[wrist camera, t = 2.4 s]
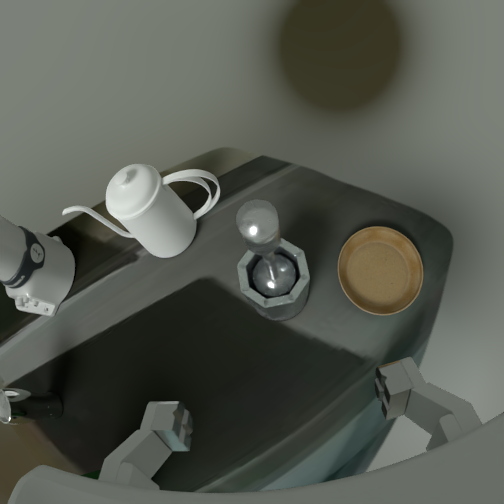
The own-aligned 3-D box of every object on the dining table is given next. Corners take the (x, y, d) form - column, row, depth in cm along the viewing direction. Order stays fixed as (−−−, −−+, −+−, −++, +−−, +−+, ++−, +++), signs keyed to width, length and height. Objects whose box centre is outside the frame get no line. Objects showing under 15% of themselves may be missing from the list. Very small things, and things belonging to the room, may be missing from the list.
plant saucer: (345, 223, 50) (347, 216, 47) (422, 243, 46) (427, 238, 44) (326, 305, 46) (327, 302, 43) (410, 325, 42) (415, 323, 40)
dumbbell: (257, 301, 38) (226, 257, 22) (250, 261, 40) (218, 196, 24) (299, 292, 37) (299, 242, 21) (290, 253, 39) (283, 181, 23)
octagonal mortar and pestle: (255, 326, 46) (241, 315, 35) (244, 260, 50) (229, 231, 39) (313, 314, 45) (318, 300, 34) (298, 249, 49) (298, 216, 38)
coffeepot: (113, 226, 57) (57, 180, 40) (226, 189, 56) (197, 120, 38) (114, 275, 53) (49, 239, 36) (238, 240, 52) (207, 179, 34)
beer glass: (48, 420, 44) (-3, 424, 30) (41, 390, 47) (-10, 388, 33) (67, 420, 44) (14, 425, 30) (60, 388, 46) (6, 386, 32)
